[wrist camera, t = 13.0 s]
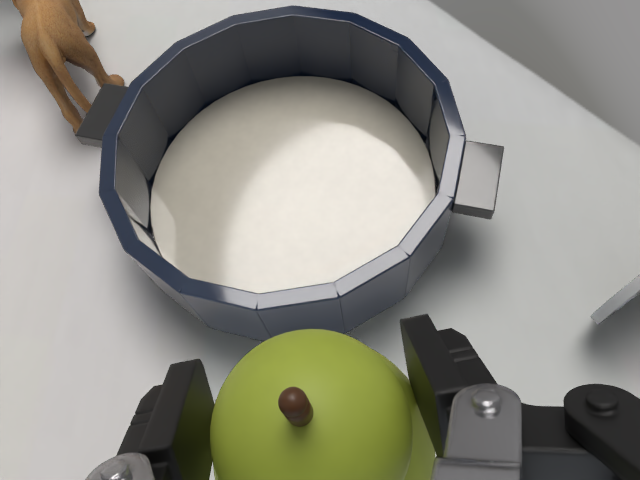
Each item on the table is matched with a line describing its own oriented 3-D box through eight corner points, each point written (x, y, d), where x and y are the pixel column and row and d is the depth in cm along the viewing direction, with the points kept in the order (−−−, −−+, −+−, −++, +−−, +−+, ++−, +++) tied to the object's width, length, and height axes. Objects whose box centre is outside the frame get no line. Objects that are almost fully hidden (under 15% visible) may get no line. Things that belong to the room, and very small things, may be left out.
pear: (215, 532, 17) (46, 544, 8) (272, 350, 20) (190, 210, 11) (404, 593, 16) (443, 684, 7) (439, 392, 19) (501, 274, 10)
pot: (58, 291, 30) (1, 251, 25) (177, 51, 37) (150, -13, 32) (455, 388, 25) (473, 362, 21) (502, 97, 33) (522, 32, 28)
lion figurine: (8, 30, 39) (-86, -95, 31) (75, -5, 40) (0, -134, 32) (92, 163, 33) (2, 51, 25) (168, 119, 34) (105, -3, 26)
